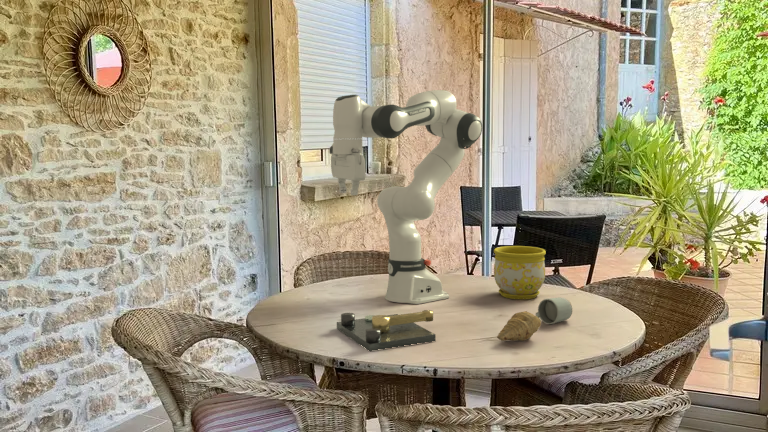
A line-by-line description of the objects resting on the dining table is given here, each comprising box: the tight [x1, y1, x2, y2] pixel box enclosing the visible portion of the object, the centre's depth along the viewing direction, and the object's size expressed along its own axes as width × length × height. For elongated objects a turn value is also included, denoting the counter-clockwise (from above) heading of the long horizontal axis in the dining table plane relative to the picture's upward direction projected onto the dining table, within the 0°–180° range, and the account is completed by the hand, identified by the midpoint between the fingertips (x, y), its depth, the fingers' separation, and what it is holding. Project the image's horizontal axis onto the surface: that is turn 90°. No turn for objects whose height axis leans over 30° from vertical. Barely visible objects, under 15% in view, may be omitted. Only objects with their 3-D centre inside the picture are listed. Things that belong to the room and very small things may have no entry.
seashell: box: [496, 310, 542, 342], centre depth 187 cm, size 14×8×8 cm, turn 132°
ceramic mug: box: [535, 296, 573, 325], centre depth 208 cm, size 11×8×8 cm
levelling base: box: [336, 312, 437, 352], centre depth 195 cm, size 20×24×5 cm
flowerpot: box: [493, 245, 547, 300], centre depth 240 cm, size 18×18×16 cm
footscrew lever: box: [372, 309, 434, 332], centre depth 195 cm, size 19×5×4 cm, turn 115°
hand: (348, 194), depth 208 cm, fingers open, 8 cm apart
